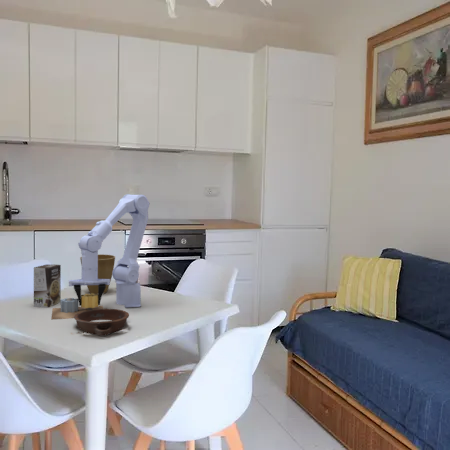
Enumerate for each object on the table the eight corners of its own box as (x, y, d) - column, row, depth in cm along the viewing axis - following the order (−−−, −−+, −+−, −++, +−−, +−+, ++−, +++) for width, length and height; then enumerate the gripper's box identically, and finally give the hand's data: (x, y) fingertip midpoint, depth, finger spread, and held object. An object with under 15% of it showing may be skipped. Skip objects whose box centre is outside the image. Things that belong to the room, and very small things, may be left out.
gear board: (102, 308, 185) (102, 294, 185) (105, 319, 170) (105, 303, 170) (52, 311, 180) (52, 296, 179) (51, 322, 164) (51, 306, 164)
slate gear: (78, 308, 181) (78, 297, 180) (78, 312, 175) (78, 301, 174) (60, 309, 179) (60, 298, 178) (60, 313, 173) (60, 302, 173)
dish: (123, 318, 172) (123, 305, 172) (134, 336, 152) (134, 321, 152) (71, 322, 166) (71, 308, 166) (76, 342, 146) (76, 325, 145)
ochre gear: (97, 303, 182) (98, 293, 182) (98, 307, 177) (98, 296, 176) (80, 304, 181) (80, 293, 180) (81, 308, 175) (81, 297, 174)
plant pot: (82, 289, 220) (82, 254, 218) (115, 288, 222) (115, 254, 221) (78, 296, 205) (78, 259, 204) (114, 295, 208) (114, 258, 207)
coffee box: (48, 310, 181) (48, 268, 179) (33, 309, 182) (32, 267, 181) (61, 305, 190) (61, 264, 188) (46, 304, 191) (46, 263, 190)
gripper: (68, 270, 172) (68, 308, 172) (110, 269, 176) (110, 306, 177) (68, 267, 178) (68, 303, 179) (109, 266, 183) (108, 302, 184)
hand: (89, 304), depth 179 cm, fingers closed on ochre gear, 6 cm apart
